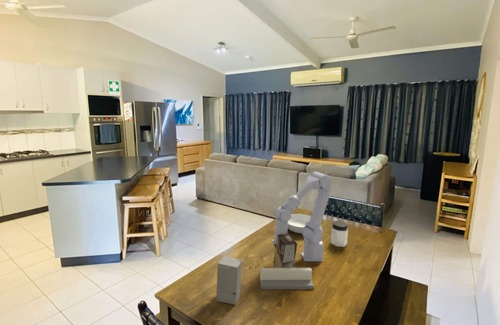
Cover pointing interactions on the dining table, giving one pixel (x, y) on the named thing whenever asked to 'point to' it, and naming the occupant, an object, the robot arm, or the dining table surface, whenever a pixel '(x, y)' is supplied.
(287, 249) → the coffee box
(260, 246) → the dining table surface
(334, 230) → the jar
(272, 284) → the board
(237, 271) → the skincare box
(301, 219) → the serving bowl
